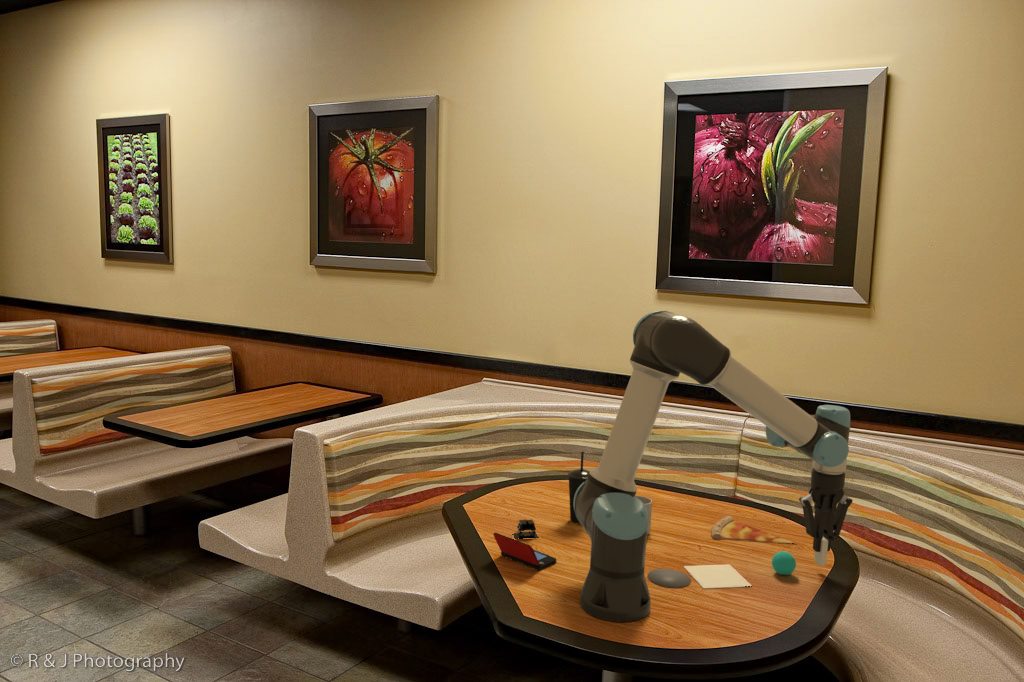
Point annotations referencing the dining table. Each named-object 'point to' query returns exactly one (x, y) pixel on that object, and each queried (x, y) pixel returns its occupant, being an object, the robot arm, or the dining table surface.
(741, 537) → the pizza slice
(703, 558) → the dining table surface
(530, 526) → the black boxy piece
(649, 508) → the cup
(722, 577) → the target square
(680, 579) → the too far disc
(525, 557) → the handheld game console
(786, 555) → the ball
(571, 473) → the drinking cup
